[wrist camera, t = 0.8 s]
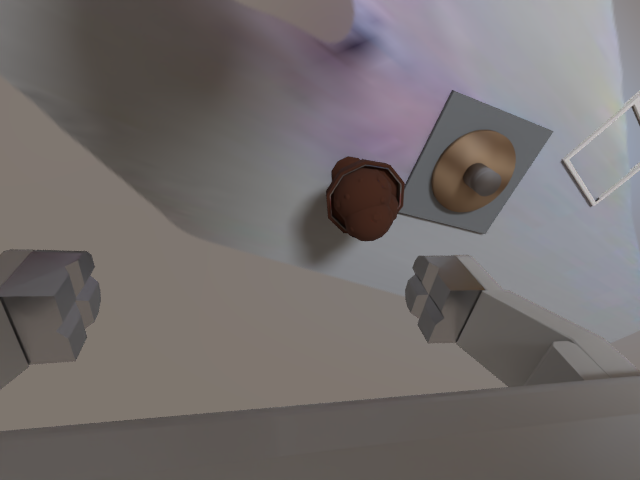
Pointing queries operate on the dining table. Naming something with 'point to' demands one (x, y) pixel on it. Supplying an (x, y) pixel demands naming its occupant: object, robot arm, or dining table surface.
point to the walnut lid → (473, 170)
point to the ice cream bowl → (364, 197)
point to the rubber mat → (452, 124)
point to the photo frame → (636, 102)
